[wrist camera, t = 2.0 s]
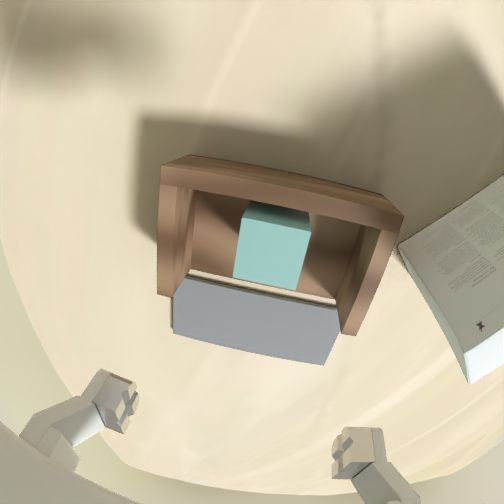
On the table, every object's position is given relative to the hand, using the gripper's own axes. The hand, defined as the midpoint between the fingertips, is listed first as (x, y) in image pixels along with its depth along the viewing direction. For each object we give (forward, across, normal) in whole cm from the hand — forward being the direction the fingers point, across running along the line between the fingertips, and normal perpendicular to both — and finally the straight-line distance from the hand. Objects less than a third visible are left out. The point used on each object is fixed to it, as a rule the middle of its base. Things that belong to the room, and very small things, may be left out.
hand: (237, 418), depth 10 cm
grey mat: (+22, 0, +13) cm, 25 cm away
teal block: (+21, 0, 0) cm, 21 cm away
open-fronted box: (+21, 0, +1) cm, 21 cm away
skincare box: (+22, -22, -6) cm, 31 cm away
